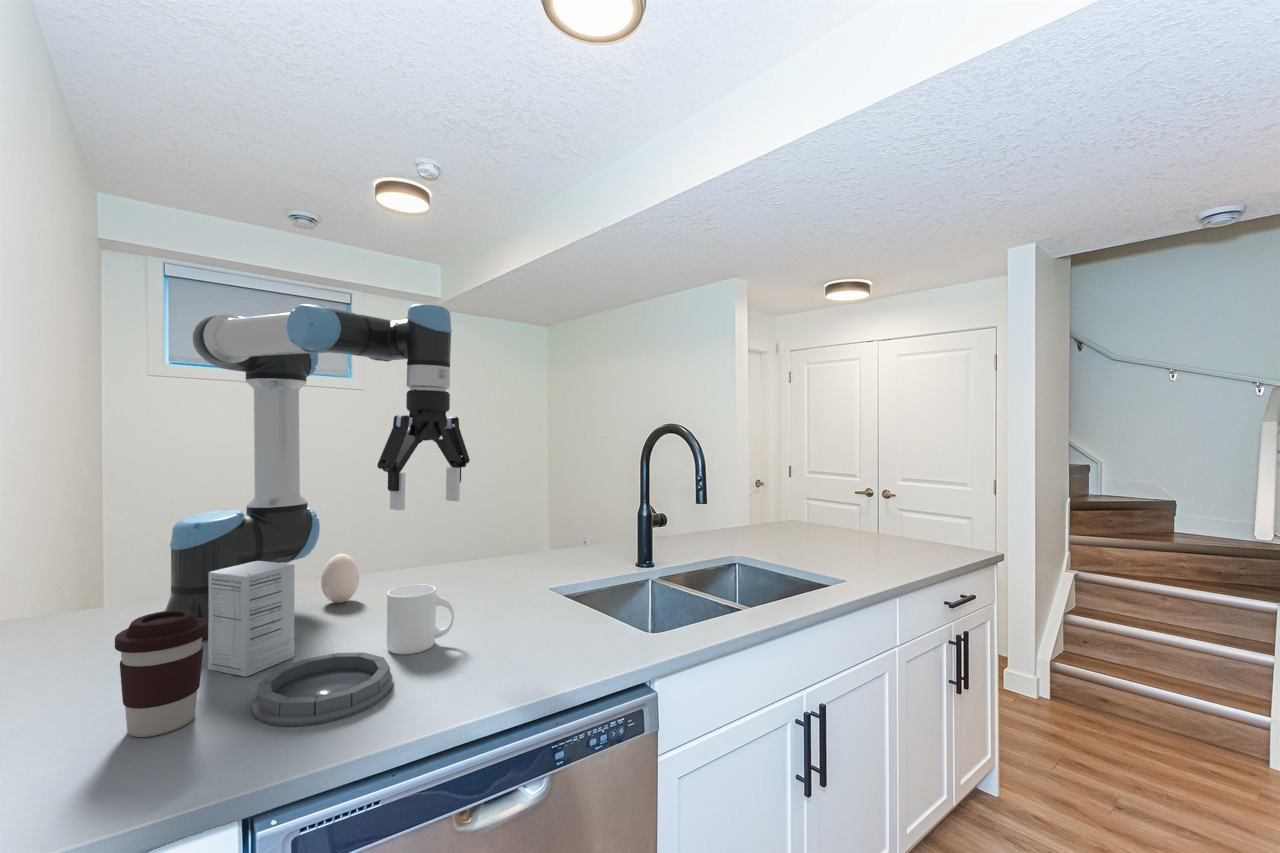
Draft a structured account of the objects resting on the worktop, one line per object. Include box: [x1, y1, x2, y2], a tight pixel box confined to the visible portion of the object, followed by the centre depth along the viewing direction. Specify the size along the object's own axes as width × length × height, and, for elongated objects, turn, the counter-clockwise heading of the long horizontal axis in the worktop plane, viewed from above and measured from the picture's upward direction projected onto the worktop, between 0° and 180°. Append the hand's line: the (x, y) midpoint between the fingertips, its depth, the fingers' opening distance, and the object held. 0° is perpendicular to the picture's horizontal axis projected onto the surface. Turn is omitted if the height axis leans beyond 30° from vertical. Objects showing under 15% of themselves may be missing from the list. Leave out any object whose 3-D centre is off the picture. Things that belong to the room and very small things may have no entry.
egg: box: [320, 553, 360, 604], centre depth 134 cm, size 8×8×11 cm
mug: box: [386, 583, 455, 656], centre depth 109 cm, size 9×12×11 cm
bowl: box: [251, 652, 393, 728], centre depth 89 cm, size 19×19×3 cm
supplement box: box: [207, 561, 295, 678], centre depth 100 cm, size 10×9×17 cm
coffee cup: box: [114, 610, 208, 738], centre depth 79 cm, size 10×10×15 cm
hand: (426, 505), depth 105 cm, fingers open, 13 cm apart
